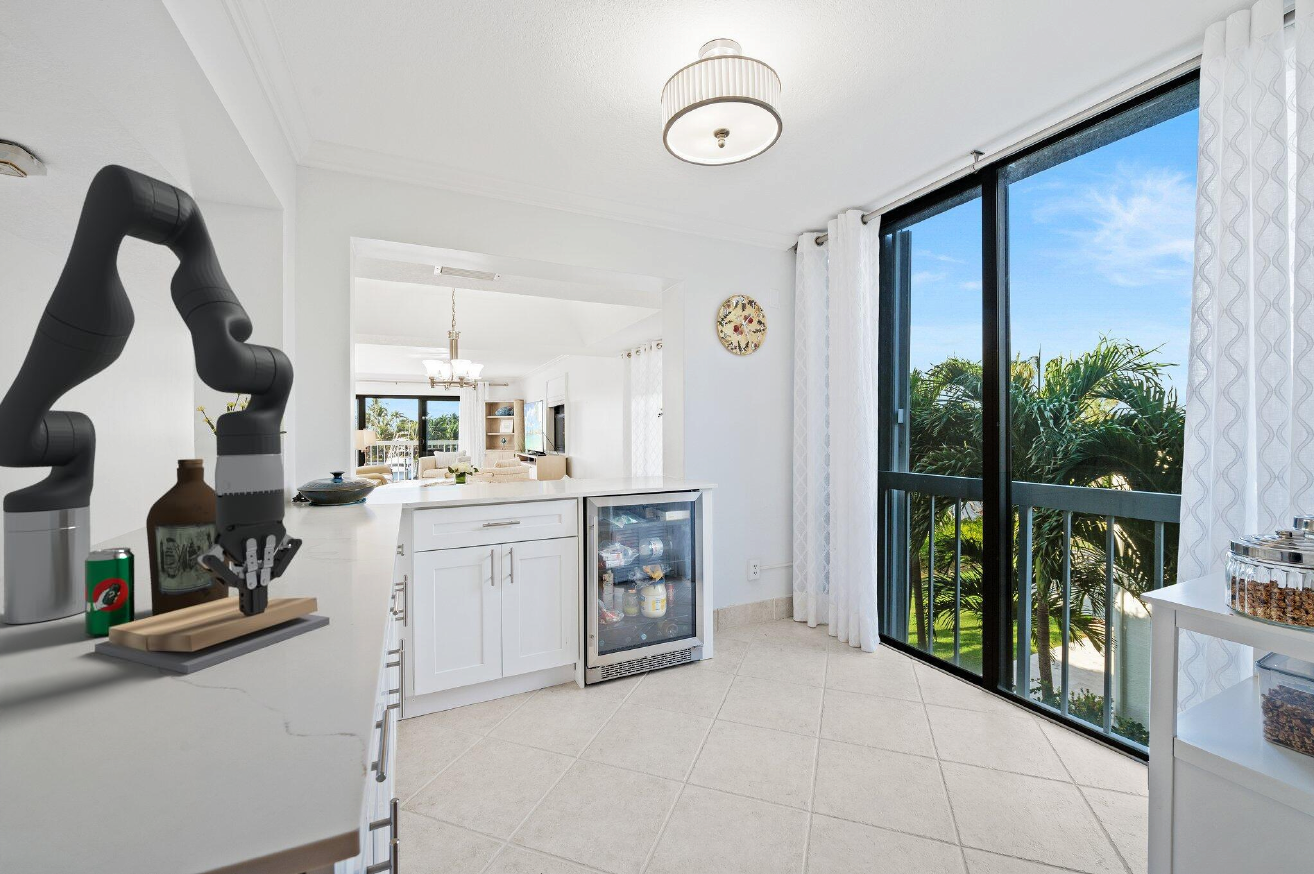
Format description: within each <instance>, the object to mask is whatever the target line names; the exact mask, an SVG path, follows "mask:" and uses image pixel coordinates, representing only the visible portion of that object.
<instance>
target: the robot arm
mask: <svg viewBox="0 0 1314 874" xmlns="http://www.w3.org/2000/svg"><path fill="white" fill-rule="evenodd" d="M127 236H128V237H132V238H135V239H138V240H142V241H145V242H148V243H152V244H155V245H159V246H165V247H167V248H168V249H169V250H170V251H171V252H172V253H173V254H174V255H175V256H176V257H177V259H178V260H179V262H180V263H179V265H178V266H177V268H176V270H175V272H174V273H173V275H172V278H171V281H170V296H171V299H172V303H173V304H174V306H175V309H176V311H177V312H178V315H180V317H181V319H182V320H183V322H184V324H185V326H186V327H187V329H188V331H189V332H190V335H191V342H192V347H193V353H194V362H195V363H194V364H195V370H196V373H197V376H198V377H199V379H200V380H201V381H202V382H203V383H204V385H206V386H208V387H209V388H210V389H212V390H214V391H216V392H221V393H227V394H237V395H239V394H241V395H250V399H249V400H248V403H247V405H246V407H245V409H243V410H236V411H230V412H225V413H223V414H221V415H220V416H218V418H217V420H216V425H215V435H216V436H215V437H216V441H215V442H216V463H215V469H214V490H215V509H216V524H217V527H218V531H217V534H216V536H215V538H214V545H213V546H212V547H211V548H210V549H209V550H208V551H206V552H205V553H204V554H198V555H196V556H195V558H194V561H195V563H197V564H198V565H199V566H200V567H201V568H202V569H203V570H205V571H206V572H207V573H208V574H209V575H210V576H211V577H213V578H214V579H215V580H216V581H217V582H218V583H219V584H221V585H222V586H223V587H229V588H232V589H233V588H235V589H237V590H238V595H239V610H240V611H241V612H243V614H244V615H245V616H254V615H257V614H261V613H264V611H265V608H267V605H268V598H269V595H268V594H269V592H268V591H269V589H268V587H269V586H268V585H269V584H270V582H271V581H273V580H274V579H278V578H281V577H282V575H284V573H285V571H286V570H287V568H288V567H289V565H290V563H291V561H292V560H293V559H294V558H295V556H296V554H297V553H298V551H299V549H300V548H301V547H302V545H303V539H301V538H294V537H293V536H291V535H289V534H287V529H286V527H285V525H284V522H283V521H284V520H283V519H284V518H285V517H286V513H285V511H286V509H285V508H286V507H285V485H284V484H285V475H284V474H285V473H284V466H283V465H284V464H283V461H282V460H283V459H282V444H281V443H282V440H281V425H282V421H283V418H284V414H285V411H286V408H287V404H288V402H289V397H290V394H291V390H292V387H293V383H294V374H295V373H294V368H293V365H292V362H291V360H290V358H289V357H288V355H287V354H286V353H285V352H284V351H283V350H280V349H279V348H275V347H273V346H267V345H261V344H255V343H247V340H248V339H250V337H251V335H252V334H253V328H254V327H253V323H252V321H251V319H250V317H249V315H248V313H247V311H246V310H245V308H244V306H243V305H242V304H241V302H240V301H239V299H238V297H237V296H236V294H235V292H234V291H233V289H232V288H231V286H230V284H229V282H228V280H227V278H226V276H225V274H224V272H223V270H222V268H221V265H220V261H219V258H218V256H217V253H216V250H215V247H214V244H213V241H212V239H211V236H210V233H209V230H208V227H207V224H206V222H205V219H204V217H203V214H202V212H201V210H200V208H199V206H198V204H197V202H196V201H195V199H194V198H193V197H192V196H191V195H190V194H189V193H188V192H187V191H185V190H183V189H181V188H179V187H177V186H174V185H173V184H170V183H167V182H166V181H162V180H159V179H158V178H155V177H153V176H150V175H147V174H145V173H143V172H139V171H137V170H134V169H132V168H128V167H126V166H123V165H120V164H113V163H112V164H108V165H105V166H103V167H102V168H101V169H100V170H98V171H97V172H96V173H95V175H94V177H93V179H92V181H91V183H90V185H89V187H88V188H87V193H86V195H85V199H84V202H83V205H82V208H81V212H80V216H79V220H78V223H77V228H76V231H75V233H74V238H73V241H72V244H71V247H70V251H69V254H68V257H67V259H66V262H65V264H64V267H63V269H62V271H61V273H60V276H59V277H58V278H59V279H58V281H57V283H56V285H55V287H54V289H53V291H52V293H51V295H50V298H49V300H48V301H47V303H46V306H45V308H44V310H43V312H42V315H41V317H40V320H39V322H38V325H37V327H36V329H35V332H34V333H35V334H34V336H33V338H32V341H31V343H30V346H29V349H28V352H27V354H26V356H25V358H24V361H23V363H22V365H21V367H20V369H19V371H18V374H17V375H16V377H15V379H14V380H13V382H12V383H11V386H10V387H9V388H8V390H7V392H6V393H5V396H4V397H3V398H2V400H1V402H0V467H2V468H5V467H6V468H10V469H11V468H14V469H16V468H20V469H21V468H22V469H23V468H25V469H26V468H28V469H29V468H47V467H48V468H51V470H50V472H49V474H48V475H47V476H46V477H44V478H43V479H42V480H40V481H38V482H37V483H34V484H32V485H28V486H26V487H22V488H20V489H16V490H13V491H10V492H8V493H7V494H6V495H4V497H3V500H2V501H3V502H2V506H3V508H2V509H3V622H4V623H5V624H9V625H10V624H11V625H13V624H15V625H16V624H17V625H20V624H21V625H22V624H30V623H31V624H32V623H38V622H44V621H45V622H46V621H49V620H56V619H61V618H65V617H69V616H73V615H77V614H81V613H83V612H85V560H86V559H87V558H88V556H89V552H91V506H90V505H91V495H92V492H93V488H94V478H95V477H94V474H95V459H96V448H97V447H96V446H97V437H96V435H97V434H96V429H95V425H94V423H93V421H92V419H91V418H90V417H89V416H88V415H87V414H85V413H83V412H80V411H75V410H74V411H73V410H72V411H71V410H51V408H52V407H53V406H54V405H55V403H56V402H58V400H59V399H60V398H61V397H62V396H63V395H65V394H66V393H67V392H69V391H71V390H72V389H74V388H75V387H77V386H79V385H80V384H82V383H84V382H86V381H88V380H89V379H91V378H93V377H94V376H96V375H98V374H99V373H101V372H103V371H104V370H106V369H107V368H108V367H110V366H111V365H112V364H114V363H115V362H116V361H117V360H118V359H119V357H120V356H121V355H122V353H123V351H124V349H125V347H126V344H127V342H128V340H129V338H130V335H131V333H132V332H133V329H134V326H135V321H136V319H135V312H134V309H133V307H132V303H131V301H130V298H129V296H128V294H127V291H126V289H125V287H124V284H123V282H122V280H121V277H120V275H119V270H118V265H117V261H118V255H119V250H120V247H121V244H122V242H123V239H124V238H125V237H127ZM222 553H223V554H224V555H225V556H226V557H227V558H228V559H229V560H230V566H231V569H230V567H229V568H228V567H227V566H226V565H225V564H224V563H223V561H224V557H223V555H222Z"/></svg>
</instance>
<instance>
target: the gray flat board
mask: <svg viewBox="0 0 1314 874" xmlns="http://www.w3.org/2000/svg"><path fill="white" fill-rule="evenodd" d="M328 625H330V617H329V616H321V615H317V614H312V613H310V614H307V615H303V616H300V617H297V618H294V619H291V620H288V621H285V622H282V623H279V624H276V625H272V626H269V627H266V628H263V629H260V630H257V631H254V632H251V633H248V634H245V635H241V636H238V637H235V638H232V639H229V640H226V641H223V642H220V643H217V644H214V645H211V646H207V647H204V648H201V649H198V650H195V651H149V650H147V651H145V650H140V649H136V648H131V647H127V646H122V645H118V644H113V643H109V640H107V641H103V642H98V643H95V644H94V652H95V653H98V654H101V655H106V656H111V657H114V658H118V659H119V658H120V659H122V660H128V661H132V662H135V663H140V664H145V665H148V666H153V667H156V668H161V669H165V670H169V671H174V672H178V673H183V674H186V675H189V674H192V673H195V672H199V671H200V670H204V669H206V668H210V667H212V666H215V665H218V664H221V663H223V662H226V661H230V660H232V659H234V658H237V657H240V656H244V655H245V654H249V653H251V652H255V651H257V650H259V649H263V648H265V647H268V646H271V645H274V644H276V643H280V642H282V641H285V640H288V639H291V638H293V637H296V636H299V635H302V634H305V633H307V632H311V631H313V630H316V629H318V628H322V627H325V626H328Z"/></svg>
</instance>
